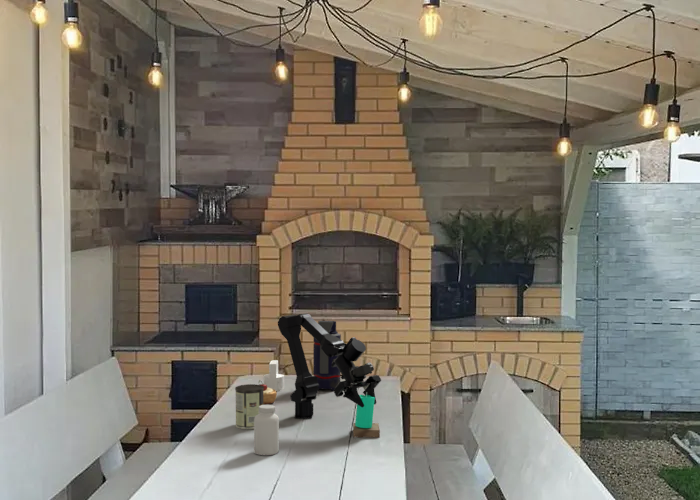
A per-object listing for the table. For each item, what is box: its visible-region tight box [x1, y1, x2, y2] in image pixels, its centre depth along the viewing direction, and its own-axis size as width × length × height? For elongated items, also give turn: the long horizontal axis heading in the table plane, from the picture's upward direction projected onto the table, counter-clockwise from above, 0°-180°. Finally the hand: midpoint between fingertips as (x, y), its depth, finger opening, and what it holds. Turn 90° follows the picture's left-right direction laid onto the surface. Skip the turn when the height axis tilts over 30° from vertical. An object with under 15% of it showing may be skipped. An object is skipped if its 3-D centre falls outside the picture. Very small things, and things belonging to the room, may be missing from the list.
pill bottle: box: [253, 404, 280, 456], centre depth 258 cm, size 8×8×15 cm
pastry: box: [258, 379, 278, 405], centre depth 325 cm, size 12×12×9 cm
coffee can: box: [234, 383, 264, 430], centre depth 290 cm, size 10×10×14 cm
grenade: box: [312, 320, 342, 392], centre depth 350 cm, size 14×12×30 cm
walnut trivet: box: [352, 422, 381, 438], centre depth 281 cm, size 9×9×2 cm
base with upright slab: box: [262, 359, 285, 392], centre depth 349 cm, size 9×9×12 cm
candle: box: [354, 393, 376, 428], centre depth 281 cm, size 6×6×12 cm
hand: (369, 405), depth 280 cm, fingers closed on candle, 5 cm apart
